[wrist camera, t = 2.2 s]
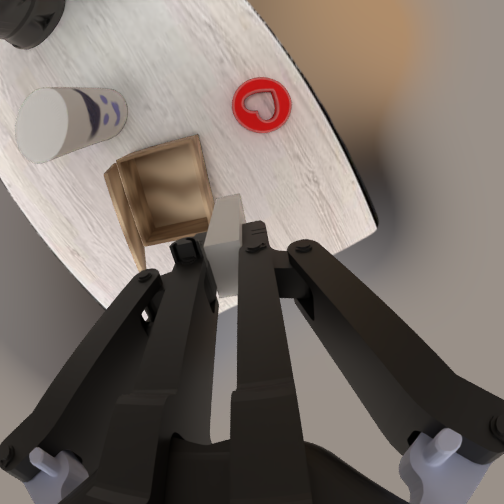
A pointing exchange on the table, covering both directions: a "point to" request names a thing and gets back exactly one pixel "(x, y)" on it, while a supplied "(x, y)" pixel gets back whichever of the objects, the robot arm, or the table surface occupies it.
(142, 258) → the lid
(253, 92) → the decorative ornament
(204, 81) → the table surface
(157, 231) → the wooden box
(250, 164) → the table surface
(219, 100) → the table surface
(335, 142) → the table surface
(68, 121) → the container
